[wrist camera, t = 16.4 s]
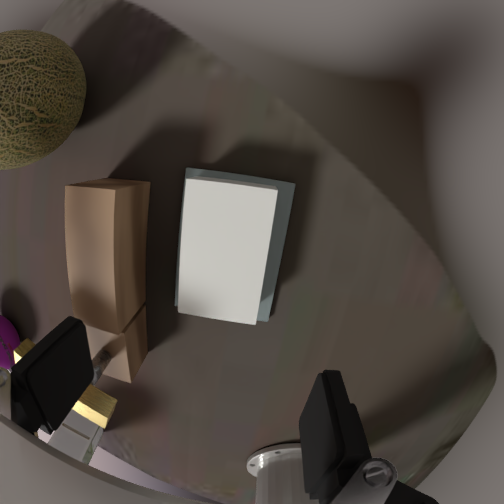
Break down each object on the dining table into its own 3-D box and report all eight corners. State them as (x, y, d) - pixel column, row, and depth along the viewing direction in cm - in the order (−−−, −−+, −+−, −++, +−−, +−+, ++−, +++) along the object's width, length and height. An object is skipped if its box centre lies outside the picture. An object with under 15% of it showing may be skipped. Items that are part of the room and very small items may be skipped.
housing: (150, 181, 21) (115, 189, 16) (147, 352, 27) (127, 390, 21) (106, 178, 21) (65, 185, 16) (112, 342, 27) (87, 376, 21)
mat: (294, 183, 21) (295, 183, 20) (267, 318, 25) (267, 321, 24) (188, 167, 21) (186, 167, 20) (176, 302, 25) (174, 305, 24)
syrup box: (72, 400, 32) (32, 464, 18) (105, 417, 32) (69, 488, 18) (75, 417, 33) (41, 476, 20) (105, 433, 34) (75, 497, 20)
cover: (275, 186, 21) (277, 190, 18) (256, 304, 24) (255, 324, 21) (197, 176, 21) (186, 178, 18) (188, 294, 24) (177, 312, 21)
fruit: (136, 82, 19) (7, 26, 4) (70, 185, 22) (-60, 222, 7) (71, 39, 17) (-31, 0, 3) (18, 128, 20) (-88, 136, 5)
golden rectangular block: (54, 313, 20) (13, 350, 14) (136, 366, 21) (107, 418, 15) (53, 328, 20) (15, 365, 14) (131, 378, 21) (104, 428, 15)
